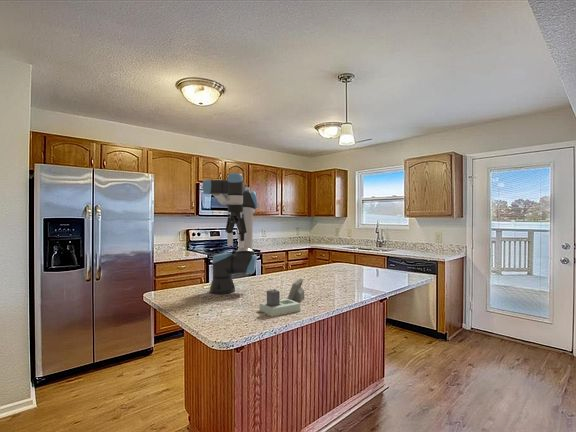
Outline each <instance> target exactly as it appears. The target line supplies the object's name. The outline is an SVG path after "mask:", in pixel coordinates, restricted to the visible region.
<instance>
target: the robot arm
mask: <svg viewBox="0 0 576 432" xmlns="http://www.w3.org/2000/svg"><path fill="white" fill-rule="evenodd" d="M201 185H202V187H201V188H202V192H203V194H205V195H212V196H213V197H214V198H215V199H216V200H217V202H218V203H219V204H220V205H221V206H224V207H226V208H227V212H228V214H227V221H226V225H225V232H226V233H227V234H226V236H227V246H228V247H231V246H232V247H233V245H234V228H235V225H236V227H237V230H238V233H237V234H238V244H237V245H238V248H237V250H236V251H235V254H233V253H232V252H223V253H217V254H214V255H213V256H212V263H211V264H212V280H211V283H210V287H209V293H210V294H215V295H226V294H231V293H235V291H236V285H235V283H234V280H233V275H252V274H255V272H256V269H257V261H258V259H257V258H258V256H257V254H255V251H254V250H253V234H254V233H253V231H254V230H253V225H254V220H253V218H254V213H255V212H256V209H258V208H259V207H258V205H259V204H258V198H257V193H256V191H255V190H249V189H248V190H246V188H247V187H246V184H245V182H244V176H243V174H242V173H238V172H231V173H228V174H227V179H204V180H203V181H202V184H201Z"/></svg>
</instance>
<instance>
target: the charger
mask: <svg viewBox="0 0 576 432" xmlns="http://www.w3.org/2000/svg"><path fill="white" fill-rule="evenodd" d="M266 302H267V305H268V306H270V307H273V306H279V305H280V291H279V290H277V289H276V288H270V289H269V290H266Z"/></svg>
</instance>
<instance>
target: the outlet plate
mask: <svg viewBox="0 0 576 432" xmlns="http://www.w3.org/2000/svg"><path fill="white" fill-rule="evenodd" d="M287 298H288V297H287ZM287 298H282V299H280V305H279V306H273V307H270V306H268V305H267V301H263V302H259V311H260V312H262V313H264V314H266V315H268V316H270V317H276V316H281V315H286V314H292V313H296V312H300V311H301V302H295V301H293V300H290V299H287Z"/></svg>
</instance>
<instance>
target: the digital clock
mask: <svg viewBox="0 0 576 432" xmlns="http://www.w3.org/2000/svg"><path fill="white" fill-rule="evenodd" d="M303 281H304V280H303V278H298V279H297V280H295V281H294V282H292V285H291V287H290V289H289V293H288V296H287V299H290V300H293V301H295V302H298V303H301V302H302V301H303V300H305V290H304V289H303V288H302V285H303Z"/></svg>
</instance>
